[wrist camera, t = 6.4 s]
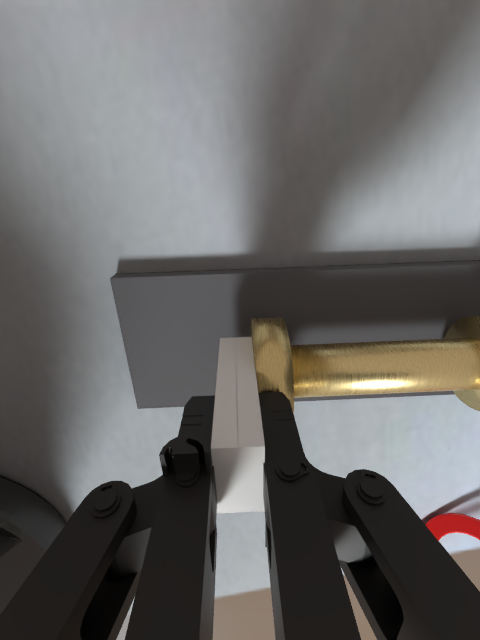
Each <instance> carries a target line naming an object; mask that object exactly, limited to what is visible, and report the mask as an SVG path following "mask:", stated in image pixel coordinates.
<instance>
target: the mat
mask: <svg viewBox="0 0 480 640" xmlns="http://www.w3.org/2000/svg"><path fill="white" fill-rule="evenodd" d="M110 280H111V285H112V289H113V294H114V299H115V303H116V308H117V313H118V318H119V322H120V327H121V332H122V336H123V341H124V346H125V351H126V355H127V360H128V365H129V370H130V374H131V379H132V384H133V388H134V393H135V398H136V403H137V407H138V409H141V408H162V407H184V406H185V405H186V403H187V402H188V401H189V400H190V398H191V397H192V396H212V395H215V392H216V380H217V369H218V357H219V345H220V338H235V337H249V333H250V319H259V318H283V320H284V322H285V324H286V328H287V331H288V336H289V341H290V345H306V344H330V343H353V342H377V341H401V340H425V339H444V338H445V335H446V333H447V331H448V330H449V328H450V327H451V326H452V325H453V324H454V323H455V322H456V321H458V320H460V319H462V318H465V317H470V316H480V260H478V261H451V262H424V263H397V264H370V265H344V266H317V267H290V268H263V269H236V270H209V271H183V272H156V273H129V274H115V275H114V276H113V277H111V278H110ZM447 394H455V393H454V392H453V391H432V392H410V393H388V394H366V395H344V396H322V397H300V398H294V401H316V400H338V399H360V398H382V397H404V396H426V395H447Z"/></svg>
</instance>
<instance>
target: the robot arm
mask: <svg viewBox="0 0 480 640" xmlns="http://www.w3.org/2000/svg"><path fill="white" fill-rule="evenodd" d="M159 456H160V461H161V466H162V471H163V475H162V476H161V477H159V478H158V479H156V480H154V481H152V482H150V483H147V484H144V485H141V486H138V487H135V488H132V489H131V487H130V486H129V484H127V483H125V482H122V481H110V482H107V483H104V484H101V485H100V486H98V487H97V488H95V489H94V490H92V491H91V492H90V493H89V494H88V495H87V496H86V497H85V499H84V500H83V501H82V503H81V504H80V505H79V507H78V508H77V509H76V511H75V512H74V514H73V515H72V516H71V518H70V519H69V520H68V522H67V523H65V521H64V520H63V519H62V517H61V516H60V515H59V514H58V513H57V511H56V510H55V509H54V508H53V507H51V506H50V505H49V504H48V503H47V502H46V501H44V500H43V499H42V498H40V497H39V496H37V495H36V494H34V493H33V492H31V491H29V490H28V489H26V488H24V487H22V486H20V485H18V484H16V483H14V482H11V481H9V480H7V479H4V478H1V477H0V640H116V638H117V636H118V634H119V632H120V629H121V627H122V624H123V622H124V620H125V618H126V615H127V613H128V611H129V608H130V606H131V604H132V601H133V599H134V597H135V599H134V603H133V607H132V612H131V616H130V620H129V624H128V629H127V633H126V637H125V640H212V638H213V616H214V593H215V570H216V547H217V528H216V512H217V513H236V512H260V511H265V519H266V545H265V547H267V552H268V563H269V573H270V584H271V595H272V605H273V616H274V626H275V638H276V640H361V638H360V634H359V631H358V627H357V623H356V620H355V616H354V613H353V609H352V606H351V602H350V599H349V595H348V592H347V588H346V585H345V581H344V577H343V574H342V570H343V572H344V574H345V576H346V578H347V580H348V582H349V584H350V586H351V588H352V590H353V592H354V594H355V595H356V598H357V599H358V602H359V604H360V606H361V608H362V610H363V612H364V614H365V616H366V618H367V620H368V622H369V624H370V626H371V628H372V630H373V632H374V634H375V636H376V638H377V640H480V592H479V591H478V589H477V588H476V587H475V585H474V584H473V583H472V582H471V581H470V579H469V578H468V577H467V576H466V575H465V573H464V572H463V571H462V569H461V568H460V567H459V566H458V564H457V563H456V562H455V561H454V560H453V558H452V557H451V556H450V555H449V553H448V552H447V551H446V550H445V548H444V547H443V546H442V545H441V544H440V542H439V541H438V540H437V539H436V537H435V536H434V535H433V534H432V532H431V531H430V530H429V529H428V528H427V526H426V525H425V524H424V523H423V521H422V520H421V519H420V518H419V516H418V515H417V514H416V513H415V512H414V510H413V509H412V508H411V507H410V505H409V504H408V503H407V502H406V500H405V499H404V498H403V497H402V496H401V494H400V493H399V492H398V491H397V489H396V488H395V487H394V486H393V485H392V484H391V483H390V482H389V481H388V480H387V479H386V478H385V477H383V476H382V475H380V474H378V473H376V472H374V471H369V470H365V469H363V470H355V471H353V472H351V473H349V474H348V475H347V477H346V479H345V478H341V477H337V476H333V475H329V474H327V473H324V472H321V471H320V470H318V469H316V468H315V467H314V466H312V465H311V464H310V463H309V461H308V460H307V459H306V457H305V454H304V452H303V448H302V444H301V441H300V437H299V433H298V429H297V426H296V422H295V418H294V414H293V412H292V407H291V403H290V400H289V399H288V398H287V397H286V396H285V395H284V393H283V392H266V393H258V387H257V379H256V371H255V363H254V355H253V347H252V339H251V337H235V338H220V345H219V357H218V369H217V380H216V392H215V395H212V396H192V397H191V398H190V400H189V401H188V402H187V403H186V405H185V407H184V412H183V418H182V421H181V426H180V430H179V435H178V437H177V438H175V439H173V440H171V441H169V442H168V443H167V444H166V445H165V446H164V447H163V449H162V451H161V452H160V454H159ZM340 566H341V567H340ZM341 568H342V570H341ZM135 594H136V595H135Z"/></svg>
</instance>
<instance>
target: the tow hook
mask: <svg viewBox="0 0 480 640" xmlns="http://www.w3.org/2000/svg"><path fill="white" fill-rule="evenodd" d="M425 525H426V526H427V528H428V529H429V530H430V531H431V532H432V534H433V535H434V536H435V537H436V539H437V540H438V541H439V540H440V538H441V537H442V536H444V535H446V534H448V533H456V532H457V533H464V534H468V535H470V536H473V537H476V538H477V539H479V540H480V520H479V519H476V518H473V517H470V516H467V515H465V514H456V513H447V514H440V515H437V516H436V517H434V518H432V519H430V520H429V521H428V522H427V523H426V524H425Z"/></svg>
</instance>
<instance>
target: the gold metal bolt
mask: <svg viewBox="0 0 480 640" xmlns="http://www.w3.org/2000/svg"><path fill="white" fill-rule="evenodd" d="M249 337H251V339H252V347H253V355H254V363H255V371H256V379H257V387H258V393H266V392H283V393H284V395H285V396H286V397H287V398H288V399H289V400H290V403H291V407H292V412H293V411H294V398H300V397H322V396H344V395H366V394H388V393H410V392H432V391H453V392H454V393H455V394H456V396H457V397H458V398H459V399H460V400H461V401H462V402H463V403H465V404H466V405H468V406H469V407H471V408H473V409H475V410H478V411H480V316H470V317H465V318H462V319H460V320H458V321H456V322H455V323H454V324H453V325H452V326H451V327H450V328H449V330H448V331H447V333H446V335H445V338H444V339H425V340H401V341H377V342H353V343H330V344H306V345H290V341H289V336H288V331H287V328H286V324H285V322H284V320H283V318H259V319H250V333H249Z"/></svg>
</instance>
